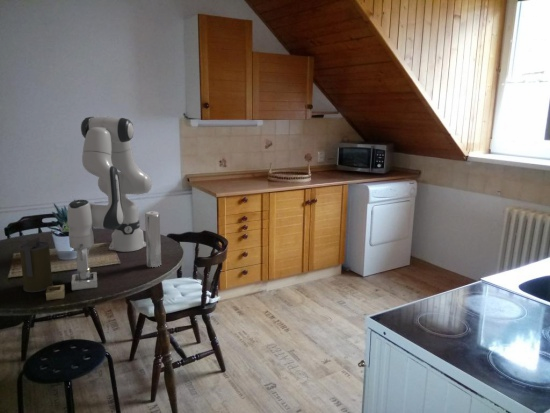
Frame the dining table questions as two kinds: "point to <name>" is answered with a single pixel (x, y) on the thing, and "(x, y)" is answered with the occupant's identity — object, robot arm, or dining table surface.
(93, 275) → the wide socket
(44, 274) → the canister
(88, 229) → the robot arm
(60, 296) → the narrow socket
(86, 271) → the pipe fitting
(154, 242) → the light grey piece
